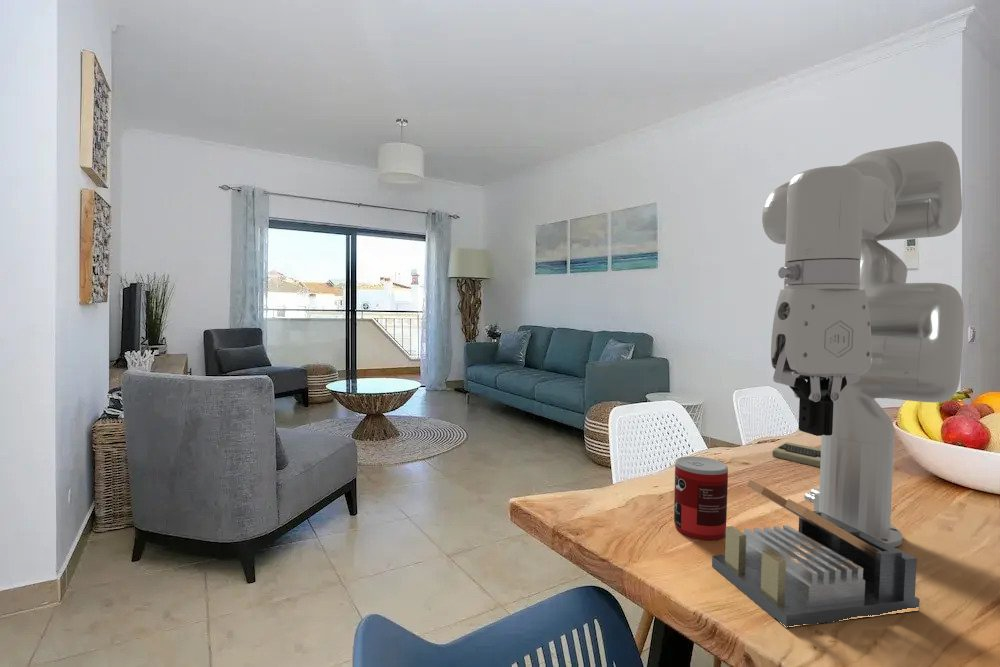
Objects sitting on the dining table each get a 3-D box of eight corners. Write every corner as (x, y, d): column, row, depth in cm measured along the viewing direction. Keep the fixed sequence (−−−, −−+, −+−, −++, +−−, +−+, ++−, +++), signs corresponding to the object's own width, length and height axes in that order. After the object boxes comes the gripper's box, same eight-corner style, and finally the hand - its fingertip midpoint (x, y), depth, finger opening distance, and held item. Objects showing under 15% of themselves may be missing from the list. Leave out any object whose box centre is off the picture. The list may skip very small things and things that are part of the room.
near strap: (781, 505, 63) (785, 496, 63) (857, 549, 65) (862, 541, 65) (805, 517, 59) (810, 508, 59) (885, 564, 62) (889, 555, 62)
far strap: (743, 485, 70) (748, 477, 70) (814, 526, 72) (818, 519, 72) (763, 495, 66) (767, 487, 66) (836, 538, 69) (840, 530, 69)
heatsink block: (711, 566, 71) (713, 516, 71) (823, 555, 75) (825, 508, 74) (786, 628, 58) (788, 567, 57) (919, 611, 61) (921, 553, 61)
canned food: (683, 516, 89) (684, 453, 88) (732, 529, 83) (734, 462, 83) (666, 531, 83) (667, 463, 82) (717, 545, 78) (719, 474, 77)
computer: (771, 458, 125) (771, 445, 124) (787, 453, 129) (787, 440, 129) (845, 476, 112) (845, 461, 112) (859, 469, 117) (860, 454, 117)
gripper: (788, 274, 55) (782, 444, 56) (905, 277, 58) (897, 438, 59) (742, 278, 62) (737, 428, 63) (848, 280, 65) (842, 423, 66)
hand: (814, 432), depth 61 cm, fingers closed
